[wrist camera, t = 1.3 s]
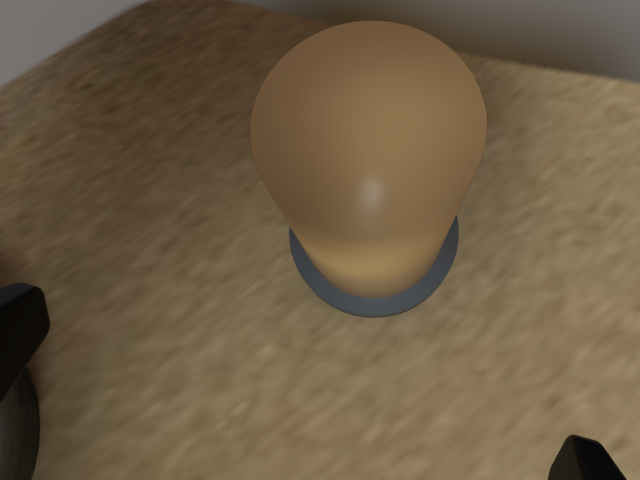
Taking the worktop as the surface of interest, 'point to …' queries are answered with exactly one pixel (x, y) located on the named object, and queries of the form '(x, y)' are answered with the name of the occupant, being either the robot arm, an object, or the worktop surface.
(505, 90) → the worktop surface
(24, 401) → the grey round disc
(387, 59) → the tan rounded stopper
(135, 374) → the worktop surface
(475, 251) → the worktop surface
